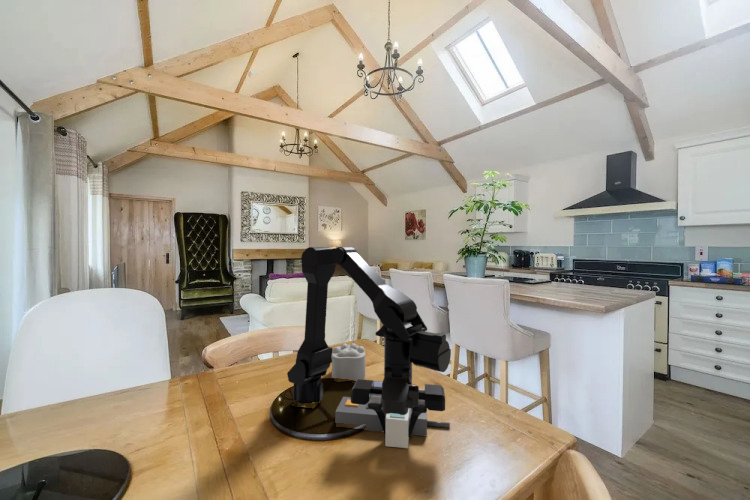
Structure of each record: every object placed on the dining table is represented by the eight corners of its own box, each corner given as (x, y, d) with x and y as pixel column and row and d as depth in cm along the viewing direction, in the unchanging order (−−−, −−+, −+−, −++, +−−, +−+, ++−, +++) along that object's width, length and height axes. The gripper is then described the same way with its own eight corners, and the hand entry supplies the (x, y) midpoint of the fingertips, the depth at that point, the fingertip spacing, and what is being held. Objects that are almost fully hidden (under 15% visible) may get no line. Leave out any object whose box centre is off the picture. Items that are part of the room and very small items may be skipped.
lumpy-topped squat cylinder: (330, 382, 93) (330, 353, 93) (333, 366, 106) (333, 340, 106) (365, 382, 94) (366, 352, 94) (364, 365, 107) (364, 339, 107)
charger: (385, 446, 63) (385, 417, 63) (388, 427, 70) (389, 401, 70) (408, 448, 63) (408, 419, 63) (409, 429, 69) (409, 403, 69)
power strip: (335, 427, 70) (335, 410, 70) (343, 410, 77) (343, 395, 77) (451, 438, 67) (451, 420, 66) (448, 420, 73) (448, 403, 73)
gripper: (344, 372, 59) (343, 456, 59) (447, 379, 56) (446, 467, 56) (356, 352, 70) (356, 423, 70) (443, 357, 67) (442, 431, 67)
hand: (397, 435), depth 65 cm, fingers closed on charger, 4 cm apart
